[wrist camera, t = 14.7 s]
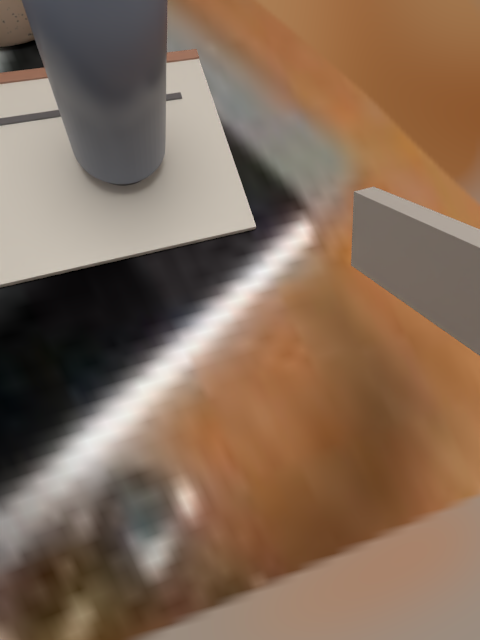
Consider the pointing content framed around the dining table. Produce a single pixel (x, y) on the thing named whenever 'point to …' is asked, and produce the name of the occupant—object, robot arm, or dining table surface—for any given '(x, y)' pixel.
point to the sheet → (102, 197)
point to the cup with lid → (107, 80)
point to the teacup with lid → (14, 24)
